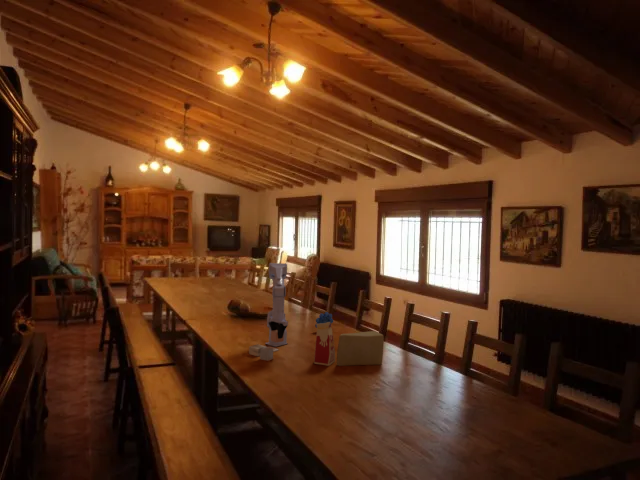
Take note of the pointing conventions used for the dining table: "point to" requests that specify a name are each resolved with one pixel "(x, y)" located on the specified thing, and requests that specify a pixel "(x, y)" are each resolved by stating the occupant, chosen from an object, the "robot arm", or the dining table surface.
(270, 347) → the tile
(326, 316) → the grapes
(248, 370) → the dining table surface
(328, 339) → the milk carton
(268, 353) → the grey painted block
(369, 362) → the cheese
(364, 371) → the dining table surface
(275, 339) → the terracotta block
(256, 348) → the birch base block
